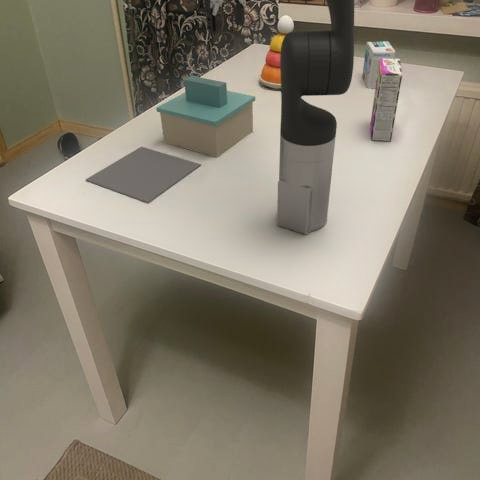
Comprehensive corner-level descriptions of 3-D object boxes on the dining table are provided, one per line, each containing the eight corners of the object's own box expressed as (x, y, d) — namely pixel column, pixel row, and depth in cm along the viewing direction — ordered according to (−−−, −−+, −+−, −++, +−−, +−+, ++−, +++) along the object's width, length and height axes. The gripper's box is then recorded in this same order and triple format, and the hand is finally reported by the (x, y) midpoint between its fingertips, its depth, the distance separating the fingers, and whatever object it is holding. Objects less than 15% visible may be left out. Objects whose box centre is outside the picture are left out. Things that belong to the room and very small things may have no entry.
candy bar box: (369, 122, 122) (378, 57, 112) (389, 123, 121) (400, 58, 111) (369, 141, 113) (380, 72, 103) (391, 142, 113) (403, 73, 102)
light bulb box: (361, 76, 149) (366, 41, 142) (382, 76, 149) (388, 40, 142) (367, 89, 141) (372, 51, 134) (390, 88, 140) (396, 51, 134)
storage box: (217, 157, 109) (215, 125, 104) (164, 142, 116) (159, 111, 111) (252, 131, 120) (252, 100, 115) (202, 118, 127) (199, 89, 122)
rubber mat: (148, 203, 95) (148, 202, 94) (85, 180, 103) (85, 179, 102) (201, 165, 106) (200, 164, 106) (141, 147, 114) (141, 146, 114)
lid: (215, 130, 104) (213, 99, 100) (157, 115, 112) (153, 86, 108) (255, 104, 116) (255, 75, 111) (199, 92, 123) (197, 65, 119)
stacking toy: (270, 94, 139) (271, 24, 127) (252, 79, 150) (251, 13, 138) (313, 87, 143) (318, 18, 131) (292, 73, 154) (294, 8, 142)
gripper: (212, -53, 87) (217, 39, 97) (260, -62, 95) (260, 24, 105) (183, -55, 91) (191, 33, 101) (232, -64, 99) (235, 19, 109)
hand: (226, 28), depth 103 cm, fingers open, 8 cm apart
